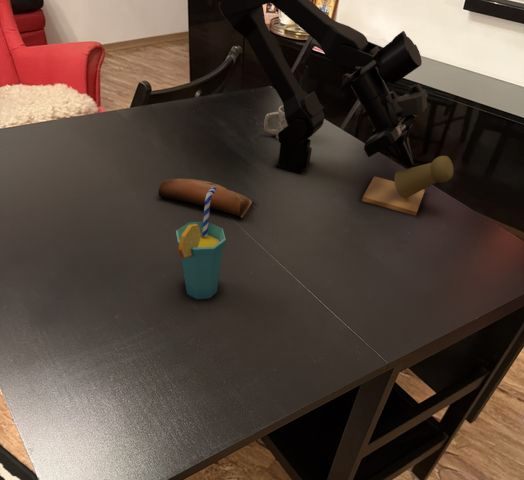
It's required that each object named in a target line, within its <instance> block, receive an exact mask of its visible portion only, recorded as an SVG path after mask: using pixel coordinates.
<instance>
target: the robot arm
mask: <svg viewBox="0 0 524 480" xmlns="http://www.w3.org/2000/svg"><path fill="white" fill-rule="evenodd" d="M267 4H272V5H273V6H274V7H275V8H277V9H278V10H279V11H280V12H281V13H283V14H284V15H285V16H286V17H287V18H289V20H291V21H292V22H294V23H295V25H297V26H298V27H299V28H300V29H301V30H303V31H304V32H305V33H307V34H308V35H309V36H310V37H311V38H312V39H313V40H314V41H316V42H317V44H318V45H319V46H320V48H321V50H322V52H323V54H324V56H325V57H326V59H327V60H328V61H329V62H330V63H331V64H332V65H333V66H334V68H335V69H336V70H337V71H339V72H342V73H345V72H346V73H345V74H343V75H342V82H341V84H340V85H341V86H340V88H339V89H340V92H344V91H345V90H347V89H348V88H350V87H351V89H352V91H353V93H354V95H355V96H356V98H357V100H358V102H359V104H360V106H361V107H362V110H363V112H361V115H362V117H363V119H365V118H368V120H369V122H370V124H371V126H372V128H373V130H372V131H371V133H372V136H370V137H369V138H368V139H367V140H366V141H365V143H364V147H363V150H364V152H365V154H366V156H367V157H368V158H371V157H372V156H374V155H376V154H377V153H379V152H381V151H382V152H383V153H385V154H386V155H389V156H390V157H392V158H393V159H395V160H396V161H398V162H399V163H401V164H402V165H404V166H405V167H406V168H412V167H413V166H414V159H413V154H412V149H411V145H410V139H409V135H410V132H411V130H412V127H413V123H410V124H409V125H407V126H406V124H404V123H406V122H408V121H410V120H411V119H415V118H416V117H418V116H419V115H422V114H423V113H425V110H426V109H428V101H427V98H428V97H429V94H428V92H427V91H426V89H423V87H422V86H421V84H420V83H417V84H414V85H412V86H411V87H410V88H409V91H408V93H405V94H403V95H401V96H398V94H397V93H396V91H394V90H391V91H390V90H389V88H388V87H387V84H389V83H391V84H393V85H394V84H396V83H398V82H399V81H401V80H403V78H405V77H406V76H408V75H409V74H411V73H413V72H414V71H415V70H416V69H418V68H420V67H421V66H422V63H423V62H422V55H421V52H420V51H419V48H418V46H417V44H415V43H414V41H413V40H412V39H411V38H410V37H409V36H407V33H406V32H405V30H402V31H401V32H400V33H398V34H397V35H396V36H395V37H393V39H392V40H390V42H388V43H387V44H386V45H384V46H381V45H378V44H376V43H373V42H371V41H368V38H367V36H365V35H364V33H362V32H360V31H359V30H357V29H355V28H353V27H352V26H349V25H346V24H344V23H341V22H339V21H336V20H334V19H333V18H332V17H330V16H329V15H328V14H327V13H325V12H324V11H323V10H322V9H321V8H319V6H318V5H316V4H315V3H314V2H313V1H311V0H219V1H218V7H219V10H220V14H221V15H222V16H223V17H224V19H225V20H226V21H227V23H228V24H229V25H230V26H231V27H232V29H234V30H235V31H236V32H238V33H239V34H240V35H241V36H242V37H244V38H245V40H246V41H247V43H248V44H249V46H250V48H251V50H252V52H253V53H254V55H255V56H256V58H257V60H258V62H259V63H260V66H261V67H262V69H263V70H264V72H265V74H266V76H267V78H268V79H269V81H270V82H271V84H272V86H273V88H274V90H275V92H276V93H277V95H278V97H279V98H280V100H281V102H282V106H284V113H285V119H286V122H287V124H288V126H286V127H285V128H284V129H283V130H281V131H280V132H279V133H278V138H279V139H278V138H277V139H278V142H279V144H280V145H279V153H278V161H277V162H276V163H275V167H276V168H278V169H282V170H285V171H289V172H292V173H296V174H302V173H303V172H304V171H305V169H307V168H308V167H309V165H310V162H311V156H312V150H313V148H312V146H311V143H312V140H311V139H310V138H311V137H312V136H313V135H314V134H315V133H316V132H317V131H319V130H320V129H321V128H322V126H323V125H324V121H325V114H324V109H325V106H323V105H322V104H321V102H320V100H319V99H318V96H317V93H316V92H315V91H312V92H311V93H307V92H306V91H305V90H303V89H302V87H301V86H300V85H301V84H300V83H299V82H298V80H297V78H296V76H295V75H294V72H293V71H292V69H291V67H290V66H289V63H288V62H287V60H286V58H285V57H284V55H283V53H282V51H281V49H280V47H279V45H278V44H277V42H276V40H275V38H274V36H273V35H272V33H271V31H270V30H269V29H270V28H269V27H268V26H267V23H266V18H265V17H266V16H265V11H264V5H267ZM373 61H374V62H375V63H373V64H372V66H371V67H369V68H367V67H366V66H368V65H370V64H371V63H372V62H373ZM355 68H358V69H357V70H355V71H354V72H353V73H348V72H350V71H352V70H354V69H355Z"/></svg>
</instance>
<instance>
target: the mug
mask: <svg viewBox="0 0 524 480" xmlns="http://www.w3.org/2000/svg"><path fill="white" fill-rule="evenodd" d="M271 118H276V119H277V120H276V121H277V122H276V128H270V127H269V121H270V119H271ZM286 126H288V124H287V122H286V119H285V113H284V106H283V105H280V106H279V107H278V111H273V112H269V113H266V114H265V116H264V122H263V129H264V132H266V133H267V134H272V135H275V137H276V139H277V140H279V138H278V133H279V132H280V131H281V130H283V129H284V128H285V127H286Z"/></svg>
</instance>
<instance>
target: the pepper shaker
mask: <svg viewBox="0 0 524 480" xmlns="http://www.w3.org/2000/svg"><path fill="white" fill-rule="evenodd" d="M454 172H455V171H454V164H453V162H452V160H451V158H450V157H449V156H447V155H439V156H437V157H436V158H434V159H433V160H432V162H429V163H425V164H421V165H416V166H411V167H408V168H405V169H402V170H401V169H400V170H397V171H396V172H395V174H394V177H393V178H394V180H393V181H394V182H395V187H396V190H397V192H398V194H399V195H400V196H401V197H402V198H404V199H405V198H408V197H410V196H411V195H413V194H415V193H417V192H419V191H421V190H423V189H424V190H426V189H427V188H428V187H430V186H432V185H435V184H436V183H440V184H442V183H446V182H448V181H451V179H452V178H453V176H454Z"/></svg>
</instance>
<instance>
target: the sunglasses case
mask: <svg viewBox="0 0 524 480" xmlns="http://www.w3.org/2000/svg"><path fill="white" fill-rule="evenodd" d="M212 187H215V188H216V191H215V193H214V194H213V195H212V197H211V201H210V209H212V210H216V211H220V212H225V213H228V214H230V215H231V214H232V215H234V216H237V217H239V218H241V219H243V218H244V217H245V215H246V214H247V212H248V211H249V209H250V208H251V206H252V204H253V201H252V200H251V199H250V198H248V197H247V196H245V195H243V194H241V193H239V192H235V191H234V190H229V189H227V188H226V187H224V186H222V185H220V184H218V183H214V182H211V181H207V180H202V179H201V180H200V179H194V178H170V179H164V180H162V181H161V182H160V184H159V186H158V196H159V197H160V198H166V199H170V200H175V201H180V202H186V203H187V202H188V203H190V204H194V205H197V206H201V207H205V198H206V194H207V192H208V191H209V190H210V189H211V188H212Z"/></svg>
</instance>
